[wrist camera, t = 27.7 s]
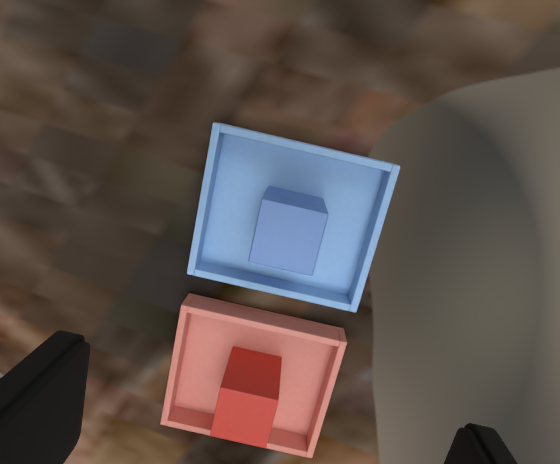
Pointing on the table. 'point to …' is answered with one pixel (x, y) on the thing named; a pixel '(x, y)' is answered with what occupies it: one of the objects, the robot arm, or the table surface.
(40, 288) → the table surface
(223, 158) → the blue tray
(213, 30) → the table surface
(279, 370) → the red block
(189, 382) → the rose tray
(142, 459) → the table surface
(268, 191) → the blue block
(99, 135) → the table surface
